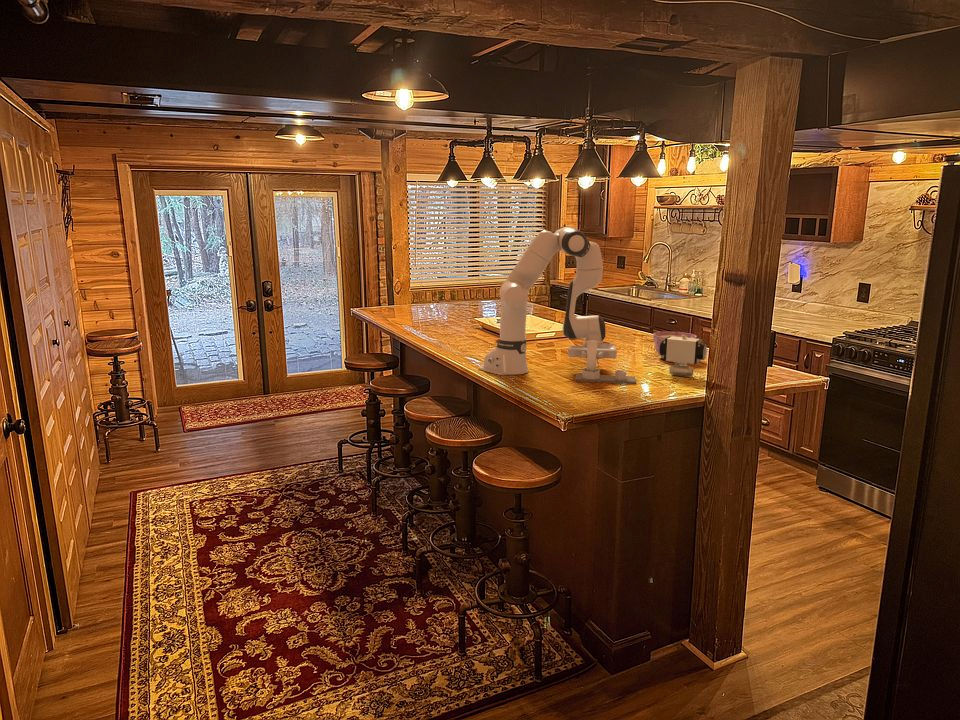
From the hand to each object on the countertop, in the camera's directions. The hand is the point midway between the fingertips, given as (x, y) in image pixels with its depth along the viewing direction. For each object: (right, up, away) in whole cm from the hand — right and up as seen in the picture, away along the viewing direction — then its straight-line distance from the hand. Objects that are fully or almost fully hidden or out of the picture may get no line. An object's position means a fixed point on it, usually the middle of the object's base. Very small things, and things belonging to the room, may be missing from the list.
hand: (591, 355), depth 272 cm
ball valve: (+40, -9, +10) cm, 42 cm away
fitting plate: (+6, -10, +2) cm, 12 cm away
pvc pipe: (0, -8, +3) cm, 8 cm away
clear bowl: (+46, -1, +44) cm, 64 cm away
